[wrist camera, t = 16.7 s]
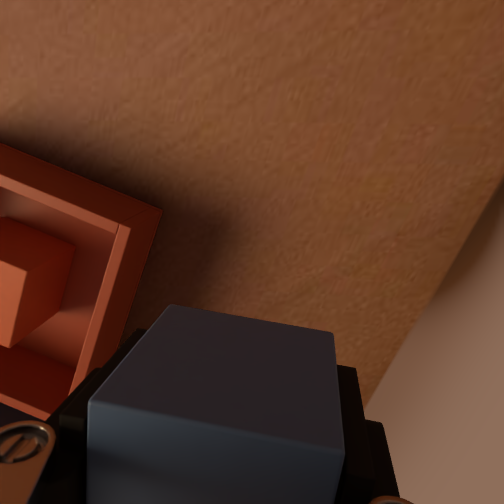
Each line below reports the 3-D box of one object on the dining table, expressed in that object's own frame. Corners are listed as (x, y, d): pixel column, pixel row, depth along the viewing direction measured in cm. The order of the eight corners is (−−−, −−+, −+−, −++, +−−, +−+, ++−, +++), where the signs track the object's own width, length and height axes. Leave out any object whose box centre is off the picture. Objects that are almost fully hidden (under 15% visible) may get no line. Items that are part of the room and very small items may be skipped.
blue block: (334, 331, 11) (346, 453, 7) (306, 469, 13) (302, 644, 8) (169, 302, 12) (85, 400, 7) (158, 438, 13) (82, 589, 9)
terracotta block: (77, 246, 24) (27, 271, 20) (59, 312, 26) (9, 349, 21) (4, 215, 24) (-61, 234, 20) (-10, 283, 26) (-74, 314, 21)
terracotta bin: (163, 209, 24) (131, 228, 19) (106, 383, 27) (68, 431, 23) (-40, 125, 24) (-116, 125, 19) (-70, 310, 27) (-139, 344, 23)
